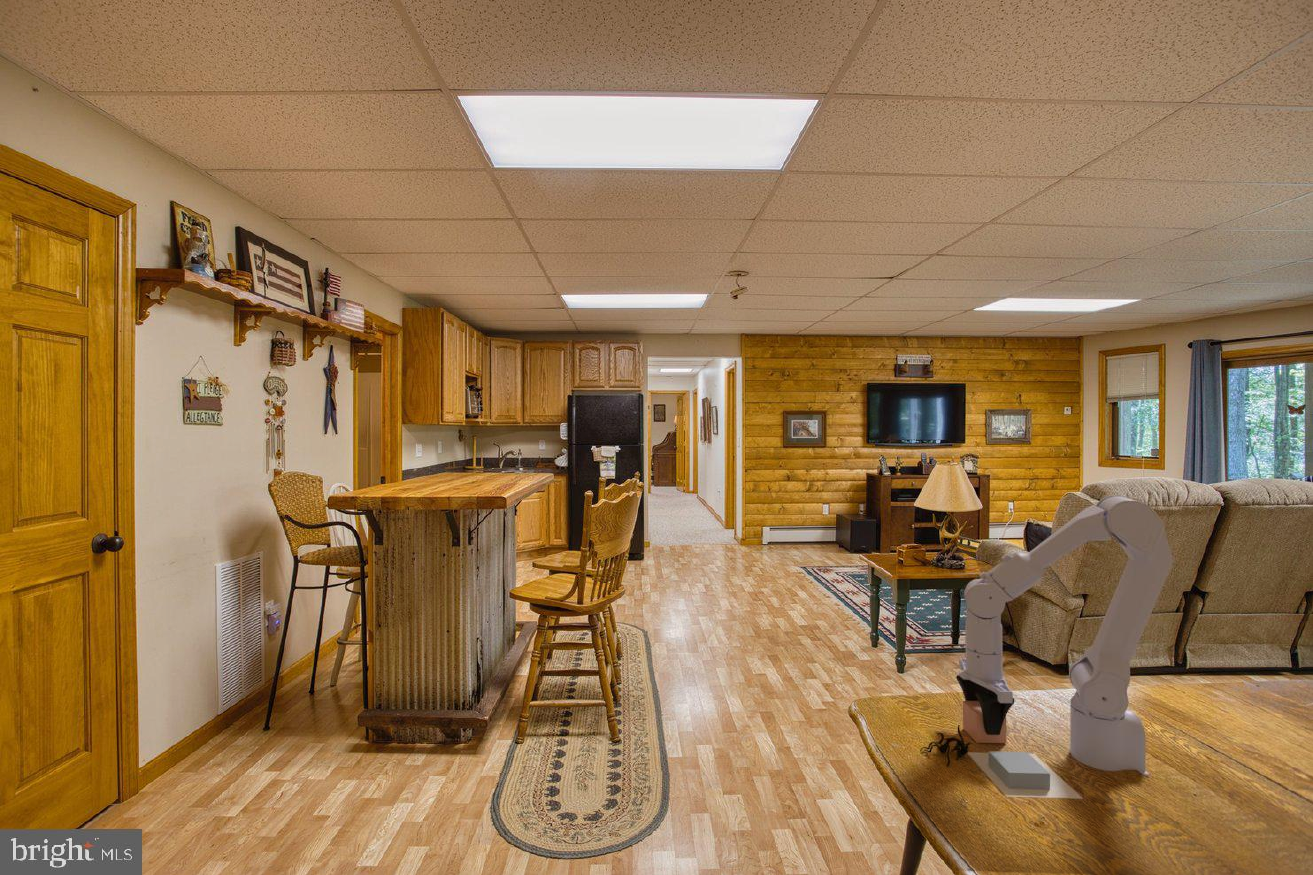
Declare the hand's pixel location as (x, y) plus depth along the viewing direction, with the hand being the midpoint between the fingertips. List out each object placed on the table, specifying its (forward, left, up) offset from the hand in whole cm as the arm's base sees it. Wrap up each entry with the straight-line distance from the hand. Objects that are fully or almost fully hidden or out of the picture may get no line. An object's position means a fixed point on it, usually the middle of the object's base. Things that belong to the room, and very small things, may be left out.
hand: (984, 725), depth 104 cm
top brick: (0, 0, -2) cm, 2 cm away
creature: (+10, +6, -3) cm, 12 cm away
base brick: (+1, +12, -2) cm, 13 cm away
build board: (0, +11, -3) cm, 12 cm away
